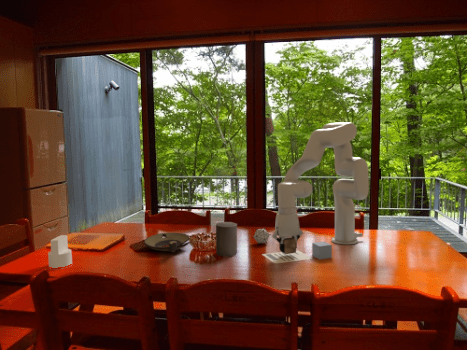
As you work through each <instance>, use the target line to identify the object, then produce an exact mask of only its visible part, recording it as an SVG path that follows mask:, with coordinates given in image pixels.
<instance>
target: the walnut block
mask: <svg viewBox="0 0 467 350" xmlns="http://www.w3.org/2000/svg"><path fill="white" fill-rule="evenodd" d="M283 244H284V250H285V252H284V254H291V253H296V250H297V248H296V239H294V238H292V236H290V237H284V242H283Z"/></svg>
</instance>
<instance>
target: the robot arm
mask: <svg viewBox="0 0 467 350" xmlns="http://www.w3.org/2000/svg"><path fill="white" fill-rule="evenodd" d="M357 133H358V129H357V126H356V125H355V123H353V122H351V121H350V122H349V121H348V122H347V121H346V122H330V123H326V124H324V125H323V126H322V128H321V129H315V130H313V132H311V134H310V136H309V139H308V140H307V144H306V146H305V148H304V151H303V152H302V156H301V157H300V158H299V159H298V160H297V161H295V162H294V163H293V165H292V166H290V168H289V169H288V170H287V171H286V174H285V176H284V179H283V182H282V181H281V182H279V183H278V184H277V203H278V205H277V209H278V211H277V213H276V216H275V223H274V224H275V226H274V232H273V234H271V238H273V239H274V240H275V241H276V242H277V243H278V244H279V251H280V252H282V253H284V252H285V250H284V244H283V242H284V237H292V238H294V239H296V249H297V248H298V247H297V246H298V245H297V244H298V241H299V240H300V238H301V237H302V235H304V232H303V231H302V229H301V228H300V221H299V216H298V213H297V211H298V210H299V207H298V206H296V205H297V204H296V199H300V198H302V199H303V198H304V199H305V198H307V197H310V196H311V194H312V192H313V186H312V184H311V183H310V182H308V181H306V180H301V179H300V180H299V178H300V177H301V176H302V175H303V174H304V173H305V172H308V171H309V170H311V169H314V168H316V167H317V166H319V165H320V163H321V161H322V158H323V156H324V152H325V150H326V149H327V148H331V149H332V148H333V153H334V156H333V157H334V158H333V159H334V170H335V174H336V175H338V176H341V177H345V178H339V179H336V180H335V181H333V182H334V183H333V185H332V193H333V199H334V237H331V242H332V243H334V244H336V245H337V244H339V245H344V246H345V245H355V244H357V243H358V238H361V237H363V233H362V232H356V231H355V226H356V224H355V220H356V218H355V217H356V216H355V214H356V208H355V203H354V200H356V201H357V200H358V201H362V200H365V199H366V198H367V197H368V195H369V188H370V187H369V186H370V185H369V182H370V181H369V166H368V163H367V161H366V159H364V158H362V157H354V156H353V148H352V144H351V141H352V140H354V139H355V138H356V136H357ZM346 177H347V178H346ZM351 178H352V179H351Z"/></svg>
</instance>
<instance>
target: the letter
mask: <svg viewBox="0 0 467 350" xmlns="http://www.w3.org/2000/svg"><path fill="white" fill-rule="evenodd" d="M261 255H262V256H263V257H265V258H266V259H267V260H269V261H270V262H272V263H274V265H275V264H276V265H277V264H282V263H283V264H284V263H289V262H297V261H298V262H299V261H304V260H312V259H313V257H311V256H309V255H308V254H305V253H304V252H302V251H301V250H298V249H296V253H291V254H284V253H282V252H281V251H280V252H278V251H277V252H269V253H262V254H261Z"/></svg>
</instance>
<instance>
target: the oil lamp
mask: <svg viewBox="0 0 467 350" xmlns="http://www.w3.org/2000/svg"><path fill="white" fill-rule="evenodd" d="M189 237H191V235H189V234H186V233H182V232H181V233H180V232H160V233H157V234H153V235H151V236H148V237H146V238H145V239H144V241H143V243H144V246H146V247H147V248H149V249H152V250H155V251H159V252H171V253H175V252H176V251H177V250H180V249H183V248H185V247H186V246H188V245H189V244H191V241H190V240H189ZM164 245H169V247H162V246H164Z"/></svg>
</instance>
